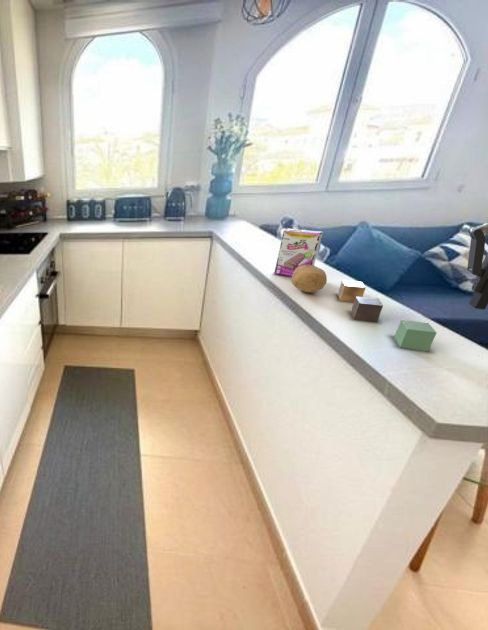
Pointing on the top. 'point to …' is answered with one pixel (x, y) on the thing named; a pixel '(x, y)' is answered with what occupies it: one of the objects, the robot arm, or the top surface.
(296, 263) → the candy bar box
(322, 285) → the potato
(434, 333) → the sage block
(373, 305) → the walnut block
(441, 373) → the top surface
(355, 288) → the oak block
